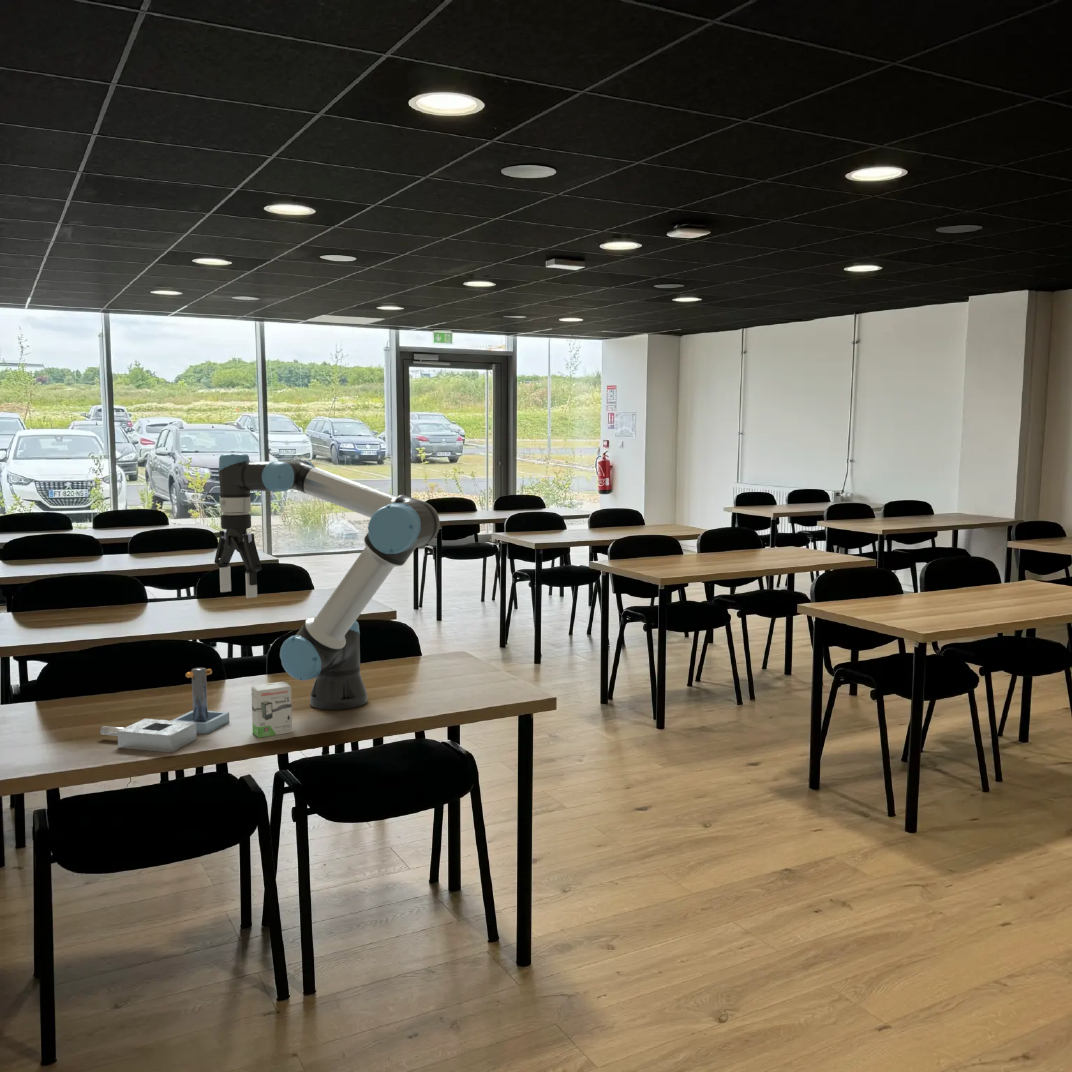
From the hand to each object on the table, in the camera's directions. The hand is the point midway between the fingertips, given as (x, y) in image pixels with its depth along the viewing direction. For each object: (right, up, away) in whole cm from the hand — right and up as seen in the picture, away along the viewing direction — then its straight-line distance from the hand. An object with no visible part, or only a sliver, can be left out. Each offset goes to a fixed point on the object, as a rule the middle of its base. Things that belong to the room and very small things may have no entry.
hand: (238, 594), depth 249 cm
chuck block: (-15, -33, -24) cm, 44 cm away
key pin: (-6, -32, -12) cm, 34 cm away
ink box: (+13, -33, -17) cm, 39 cm away
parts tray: (-6, -32, -12) cm, 35 cm away
